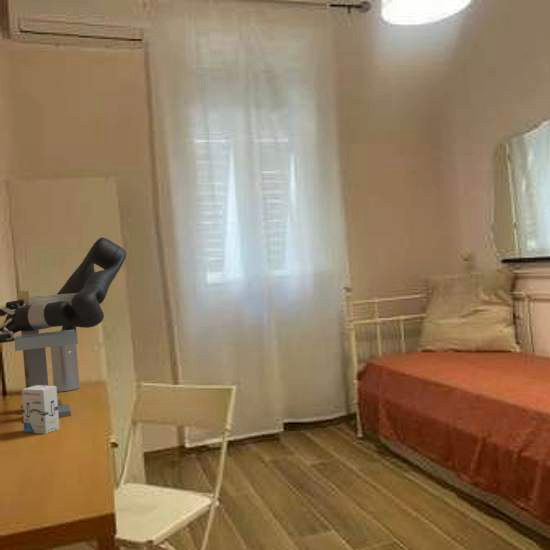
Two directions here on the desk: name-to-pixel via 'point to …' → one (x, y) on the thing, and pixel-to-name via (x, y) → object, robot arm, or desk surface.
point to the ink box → (40, 409)
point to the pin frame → (44, 356)
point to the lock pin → (44, 298)
